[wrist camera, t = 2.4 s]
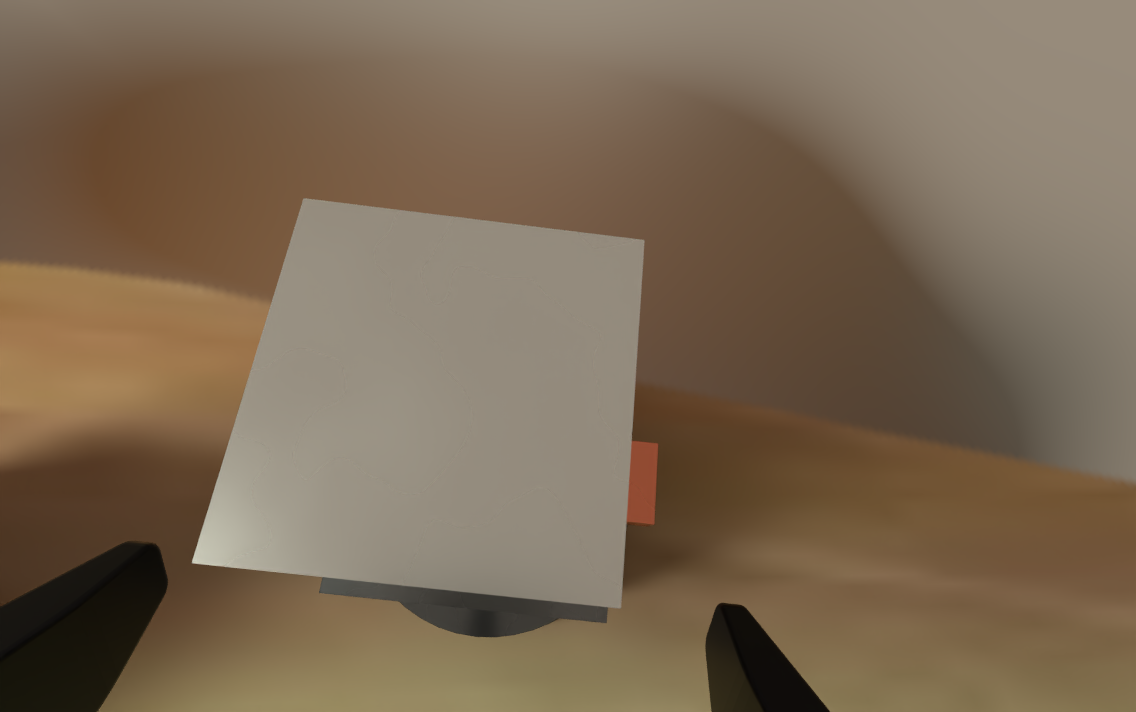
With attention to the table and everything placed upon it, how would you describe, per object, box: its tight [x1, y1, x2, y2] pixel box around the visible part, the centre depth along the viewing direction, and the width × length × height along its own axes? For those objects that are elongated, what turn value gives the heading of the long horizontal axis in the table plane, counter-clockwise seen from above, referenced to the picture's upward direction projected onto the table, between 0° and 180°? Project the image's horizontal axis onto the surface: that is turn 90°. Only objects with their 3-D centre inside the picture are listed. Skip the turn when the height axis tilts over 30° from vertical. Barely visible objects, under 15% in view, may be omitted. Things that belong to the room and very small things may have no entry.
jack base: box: [319, 441, 658, 637], centre depth 17 cm, size 9×9×6 cm
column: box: [192, 198, 644, 609], centre depth 13 cm, size 5×5×12 cm
